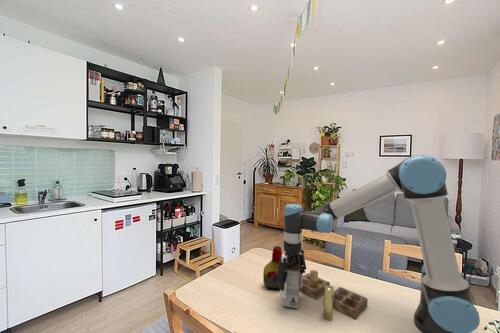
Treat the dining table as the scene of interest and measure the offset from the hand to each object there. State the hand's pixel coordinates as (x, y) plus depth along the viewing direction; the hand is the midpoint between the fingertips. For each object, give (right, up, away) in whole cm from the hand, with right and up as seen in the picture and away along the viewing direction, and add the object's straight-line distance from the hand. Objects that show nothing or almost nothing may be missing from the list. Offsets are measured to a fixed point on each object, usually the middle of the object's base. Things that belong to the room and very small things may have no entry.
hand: (291, 291), depth 102 cm
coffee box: (0, -4, 0) cm, 4 cm away
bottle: (-5, -5, +12) cm, 14 cm away
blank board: (+23, -5, -1) cm, 24 cm away
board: (+11, -5, +11) cm, 17 cm away
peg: (+13, -5, -9) cm, 16 cm away
